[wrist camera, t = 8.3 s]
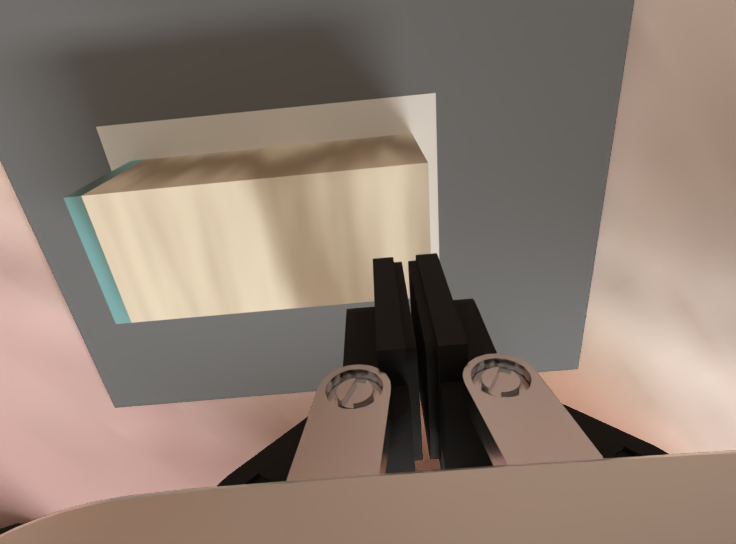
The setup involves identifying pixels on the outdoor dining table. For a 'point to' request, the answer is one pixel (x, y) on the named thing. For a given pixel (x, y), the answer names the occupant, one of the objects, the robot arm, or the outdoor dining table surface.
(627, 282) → the outdoor dining table surface
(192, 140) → the rubber mat
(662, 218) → the outdoor dining table surface
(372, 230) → the birch block
